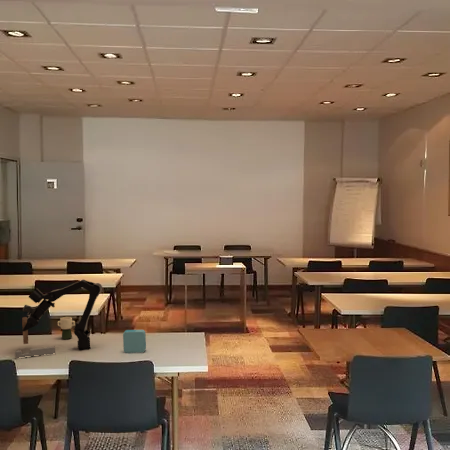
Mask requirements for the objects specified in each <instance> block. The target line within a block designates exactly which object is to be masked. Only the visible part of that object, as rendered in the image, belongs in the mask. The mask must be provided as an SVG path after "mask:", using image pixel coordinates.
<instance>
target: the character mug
mask: <svg viewBox="0 0 450 450" xmlns="http://www.w3.org/2000/svg"><path fill="white" fill-rule="evenodd" d="M75 325H76V321H75V320H73V318H72V317H71V316H65V317H60V318H59V320H58V321H57V326H58V327H60V329H61V330H62V331H61V339H63V340H69V338H70V339H71V338H73V333H72V328H73V327H75Z"/></svg>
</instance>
